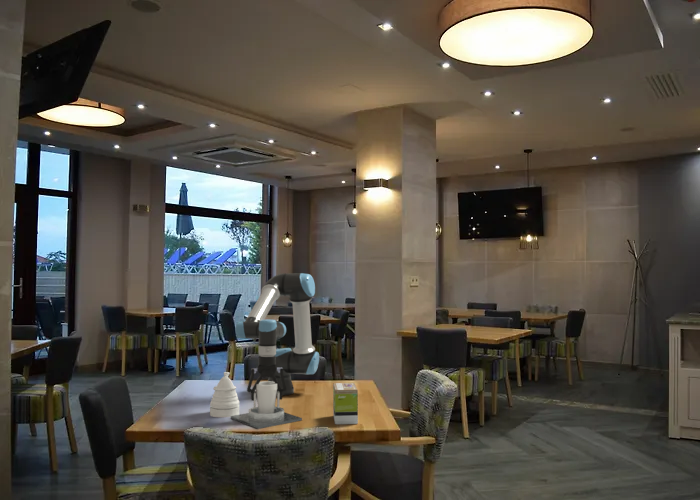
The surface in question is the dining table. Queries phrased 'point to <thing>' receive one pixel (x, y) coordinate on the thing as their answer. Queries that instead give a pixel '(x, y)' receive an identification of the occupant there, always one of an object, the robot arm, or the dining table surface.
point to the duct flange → (265, 418)
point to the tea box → (345, 403)
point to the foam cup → (266, 396)
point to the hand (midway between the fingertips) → (266, 407)
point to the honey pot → (224, 399)
